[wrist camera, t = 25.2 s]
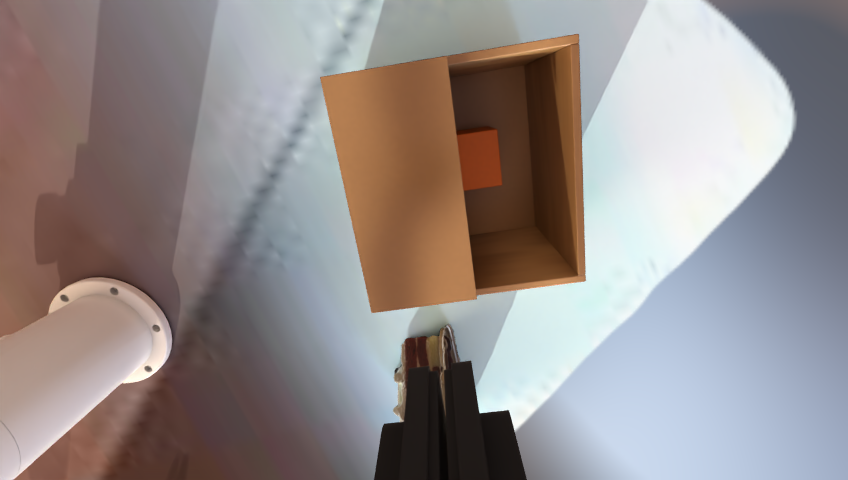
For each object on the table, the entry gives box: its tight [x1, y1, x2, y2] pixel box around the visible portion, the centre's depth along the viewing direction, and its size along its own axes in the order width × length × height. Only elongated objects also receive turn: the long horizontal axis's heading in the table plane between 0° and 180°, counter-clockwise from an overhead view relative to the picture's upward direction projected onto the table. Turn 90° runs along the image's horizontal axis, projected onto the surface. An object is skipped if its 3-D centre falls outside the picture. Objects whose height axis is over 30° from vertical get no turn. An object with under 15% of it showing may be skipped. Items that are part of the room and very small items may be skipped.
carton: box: [447, 34, 586, 295], centre depth 31 cm, size 15×16×12 cm
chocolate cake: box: [393, 324, 460, 422], centre depth 43 cm, size 10×7×12 cm
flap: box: [320, 56, 477, 313], centre depth 25 cm, size 7×15×1 cm, turn 9°
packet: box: [456, 126, 502, 191], centre depth 34 cm, size 7×4×5 cm, turn 99°
